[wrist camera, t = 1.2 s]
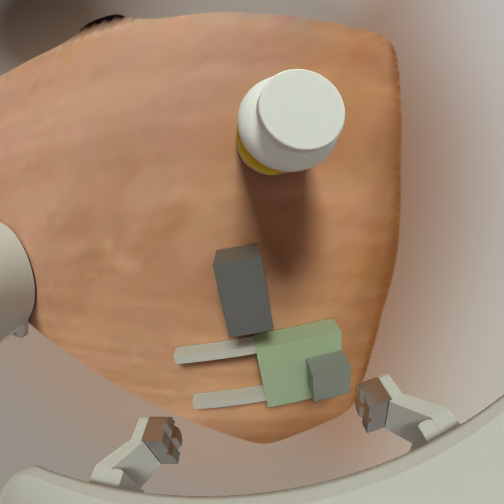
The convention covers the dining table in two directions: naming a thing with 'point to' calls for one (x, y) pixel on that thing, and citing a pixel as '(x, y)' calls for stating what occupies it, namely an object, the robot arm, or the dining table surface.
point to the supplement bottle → (289, 122)
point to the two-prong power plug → (280, 365)
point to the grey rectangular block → (243, 290)
